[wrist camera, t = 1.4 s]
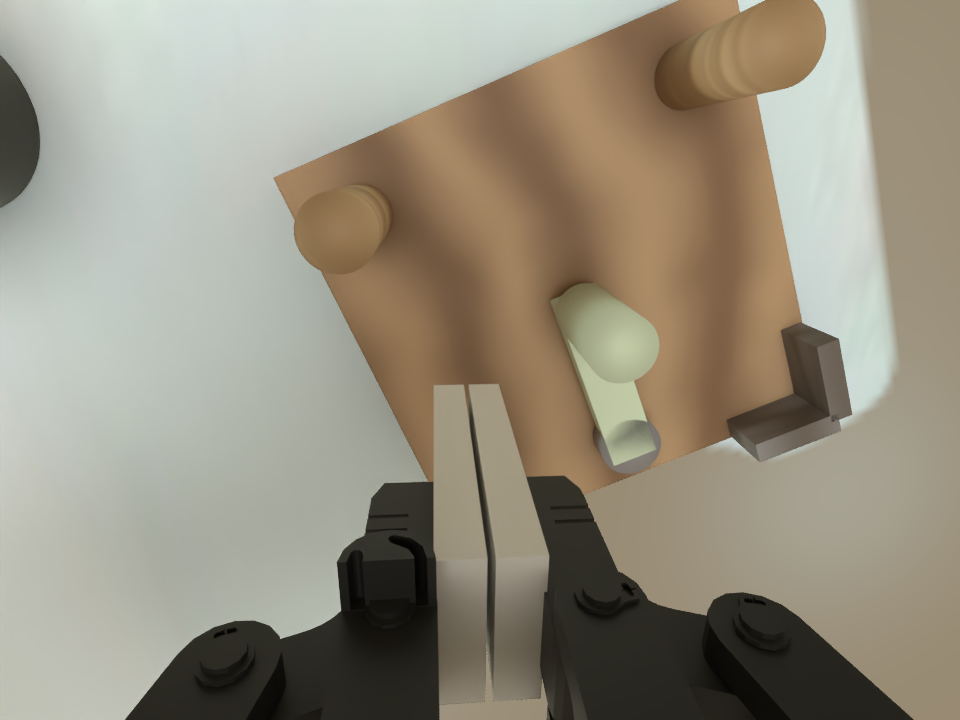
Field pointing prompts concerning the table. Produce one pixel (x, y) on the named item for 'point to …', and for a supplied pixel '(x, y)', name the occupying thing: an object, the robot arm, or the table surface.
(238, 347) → the table surface
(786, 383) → the stool seat
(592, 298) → the hinged leg
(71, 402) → the table surface
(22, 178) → the water bottle
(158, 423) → the table surface
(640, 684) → the robot arm
